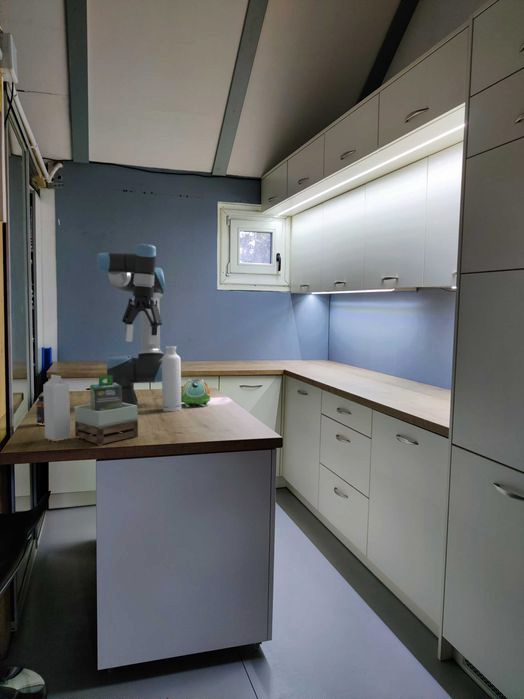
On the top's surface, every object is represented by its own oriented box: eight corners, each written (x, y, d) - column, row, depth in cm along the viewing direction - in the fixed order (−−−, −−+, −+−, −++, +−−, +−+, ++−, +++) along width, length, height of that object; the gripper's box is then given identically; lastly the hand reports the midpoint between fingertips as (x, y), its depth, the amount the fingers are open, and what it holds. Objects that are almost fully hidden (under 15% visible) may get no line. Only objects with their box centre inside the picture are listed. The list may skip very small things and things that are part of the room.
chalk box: (117, 414, 180) (116, 373, 179) (123, 419, 172) (122, 376, 171) (90, 416, 176) (89, 374, 174) (94, 422, 167) (93, 377, 166)
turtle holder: (172, 403, 239) (171, 378, 238) (210, 402, 240) (210, 377, 239) (169, 408, 226) (169, 382, 225) (210, 407, 228) (210, 381, 227)
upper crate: (74, 420, 173) (74, 406, 172) (113, 414, 184) (112, 400, 184) (99, 427, 163) (98, 412, 163) (137, 419, 174) (137, 405, 174)
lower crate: (75, 438, 173) (74, 420, 173) (113, 430, 185) (113, 414, 184) (99, 445, 164) (99, 427, 163) (138, 436, 175) (137, 419, 174)
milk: (60, 436, 176) (59, 373, 175) (70, 438, 173) (69, 374, 171) (44, 439, 171) (42, 375, 170) (54, 442, 168) (52, 376, 166)
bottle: (162, 408, 226) (161, 346, 224) (180, 407, 227) (179, 345, 225) (162, 411, 218) (161, 347, 216) (181, 411, 219) (180, 347, 217)
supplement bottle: (57, 423, 196) (56, 394, 195) (46, 426, 191) (45, 397, 190) (44, 422, 198) (43, 393, 197) (33, 425, 193) (32, 396, 192)
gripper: (173, 287, 184) (170, 345, 185) (131, 287, 199) (127, 340, 200) (157, 285, 178) (154, 345, 179) (115, 285, 193) (111, 340, 194)
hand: (140, 342), depth 189 cm, fingers open, 13 cm apart
